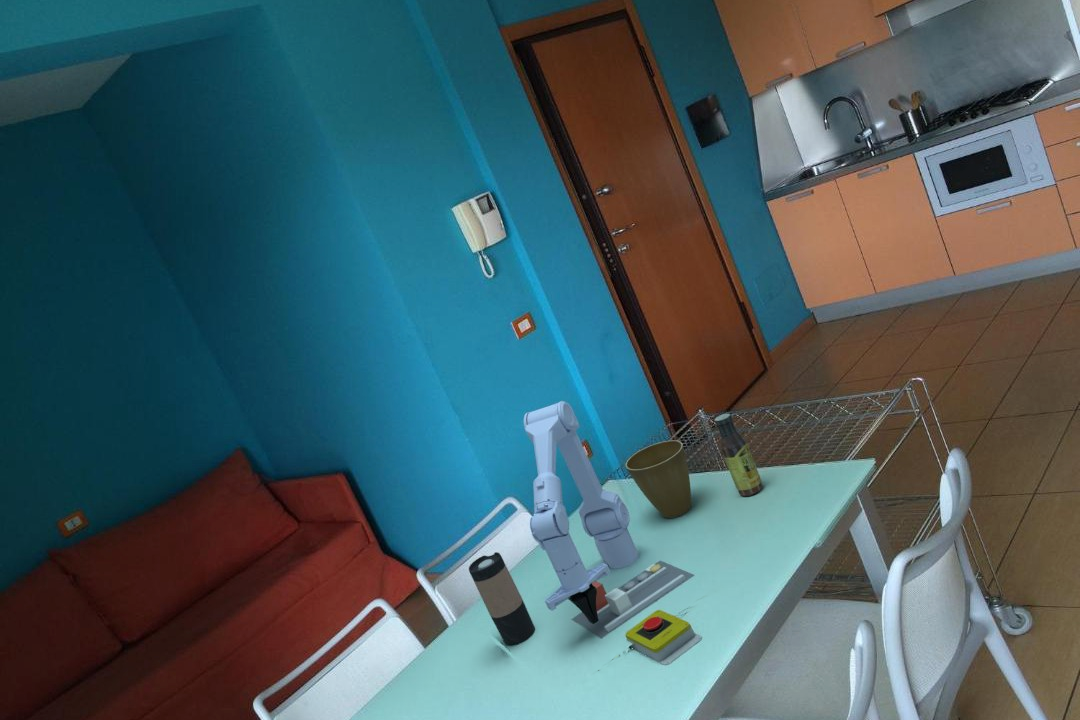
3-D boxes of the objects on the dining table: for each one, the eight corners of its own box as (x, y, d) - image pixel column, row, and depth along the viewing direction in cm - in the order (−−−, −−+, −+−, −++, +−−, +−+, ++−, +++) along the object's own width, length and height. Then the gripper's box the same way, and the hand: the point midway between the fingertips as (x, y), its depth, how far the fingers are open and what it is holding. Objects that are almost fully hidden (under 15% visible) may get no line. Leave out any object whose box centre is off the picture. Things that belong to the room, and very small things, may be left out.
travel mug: (515, 656, 193) (476, 575, 189) (501, 646, 200) (462, 567, 196) (544, 635, 196) (506, 555, 192) (529, 626, 203) (492, 549, 199)
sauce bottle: (759, 495, 216) (728, 421, 212) (735, 499, 220) (705, 426, 216) (767, 482, 221) (737, 409, 218) (744, 485, 225) (714, 414, 221)
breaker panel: (574, 625, 195) (569, 615, 194) (662, 566, 203) (658, 556, 203) (604, 644, 182) (599, 634, 181) (697, 581, 190) (692, 570, 190)
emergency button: (652, 601, 182) (696, 620, 168) (660, 619, 183) (705, 640, 169) (616, 627, 178) (658, 648, 165) (624, 646, 179) (667, 669, 166)
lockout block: (587, 609, 195) (578, 589, 195) (602, 599, 197) (593, 579, 196) (596, 614, 192) (586, 594, 191) (611, 604, 193) (602, 584, 192)
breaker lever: (611, 611, 190) (604, 595, 189) (623, 604, 191) (616, 587, 190) (622, 617, 186) (614, 600, 185) (633, 609, 187) (626, 592, 186)
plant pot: (644, 532, 224) (618, 474, 221) (657, 503, 237) (633, 449, 235) (700, 518, 218) (675, 459, 215) (711, 490, 231) (687, 434, 228)
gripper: (545, 587, 177) (573, 646, 180) (605, 549, 182) (631, 607, 185) (531, 579, 184) (558, 636, 186) (590, 542, 189) (615, 598, 191)
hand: (594, 621), depth 186 cm, fingers closed
